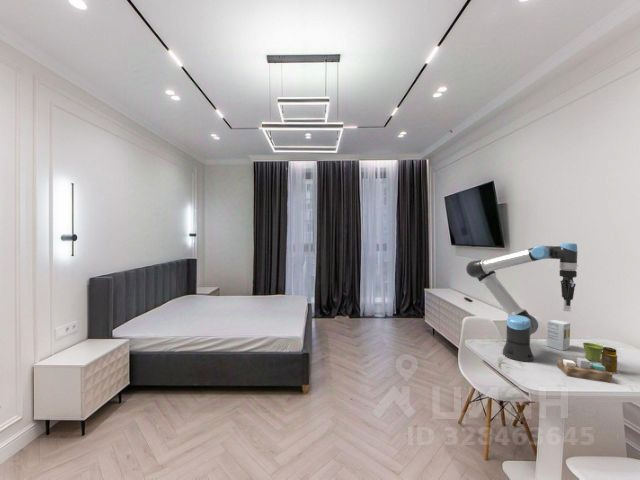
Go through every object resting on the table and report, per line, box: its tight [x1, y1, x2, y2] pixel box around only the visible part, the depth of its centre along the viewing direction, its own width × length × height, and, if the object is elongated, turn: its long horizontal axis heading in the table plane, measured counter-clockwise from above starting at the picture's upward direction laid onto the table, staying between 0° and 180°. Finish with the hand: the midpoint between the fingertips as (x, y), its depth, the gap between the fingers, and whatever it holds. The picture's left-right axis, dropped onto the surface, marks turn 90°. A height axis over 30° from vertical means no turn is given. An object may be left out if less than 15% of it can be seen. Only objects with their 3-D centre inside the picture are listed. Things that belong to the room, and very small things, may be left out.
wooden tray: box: [557, 359, 613, 384], centre depth 152 cm, size 18×12×4 cm, turn 70°
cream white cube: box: [562, 358, 576, 367], centre depth 155 cm, size 4×4×4 cm
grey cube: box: [576, 357, 591, 369], centre depth 152 cm, size 4×4×4 cm
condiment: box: [600, 346, 622, 375], centre depth 158 cm, size 7×8×12 cm
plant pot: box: [581, 342, 604, 363], centre depth 172 cm, size 9×9×9 cm
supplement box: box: [546, 319, 571, 352], centre depth 192 cm, size 10×9×17 cm
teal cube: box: [590, 362, 605, 371], centre depth 150 cm, size 4×4×4 cm
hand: (566, 311), depth 168 cm, fingers closed
